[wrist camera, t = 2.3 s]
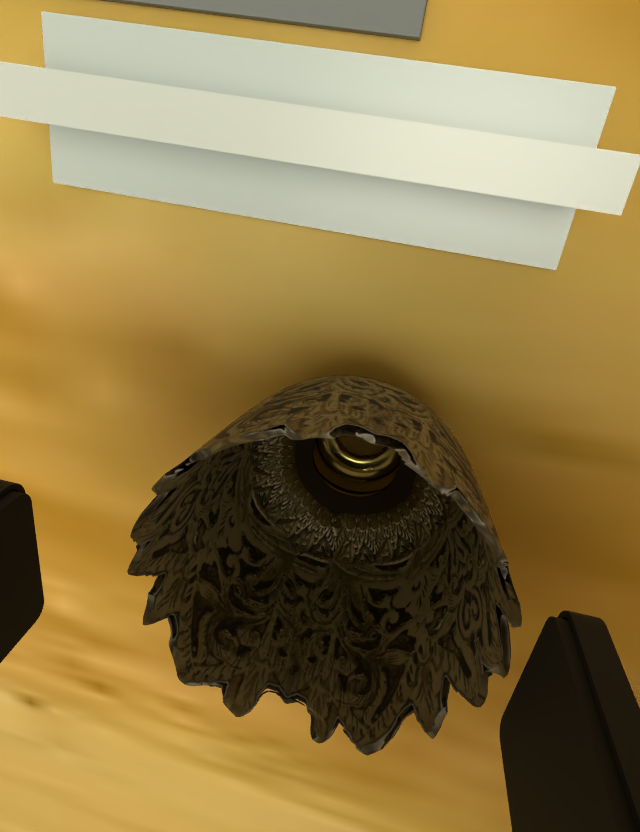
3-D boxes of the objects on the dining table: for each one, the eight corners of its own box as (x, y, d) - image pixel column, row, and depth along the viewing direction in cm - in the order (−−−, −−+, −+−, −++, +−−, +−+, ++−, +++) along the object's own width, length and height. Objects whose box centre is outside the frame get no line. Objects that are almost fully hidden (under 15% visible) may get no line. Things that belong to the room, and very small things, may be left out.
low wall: (551, 266, 14) (591, 296, 10) (66, 182, 16) (-45, 182, 12) (608, 91, 12) (680, 53, 9) (56, 17, 14) (-76, -40, 10)
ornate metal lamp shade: (230, 484, 19) (103, 671, 12) (282, 285, 16) (151, 375, 8) (429, 559, 18) (425, 800, 11) (526, 370, 15) (606, 541, 8)
